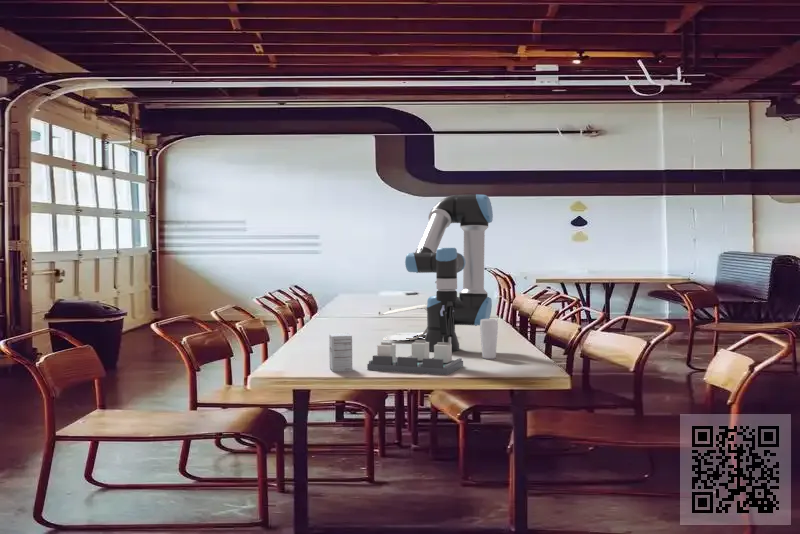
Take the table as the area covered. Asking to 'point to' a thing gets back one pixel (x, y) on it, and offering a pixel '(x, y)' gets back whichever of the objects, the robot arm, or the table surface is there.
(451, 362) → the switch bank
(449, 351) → the switch slider
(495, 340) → the drinking glass
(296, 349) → the table surface
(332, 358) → the supplement box
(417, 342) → the white block with ridge
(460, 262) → the robot arm
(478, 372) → the table surface
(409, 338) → the portable electronic device stand
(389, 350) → the white block
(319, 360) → the table surface
